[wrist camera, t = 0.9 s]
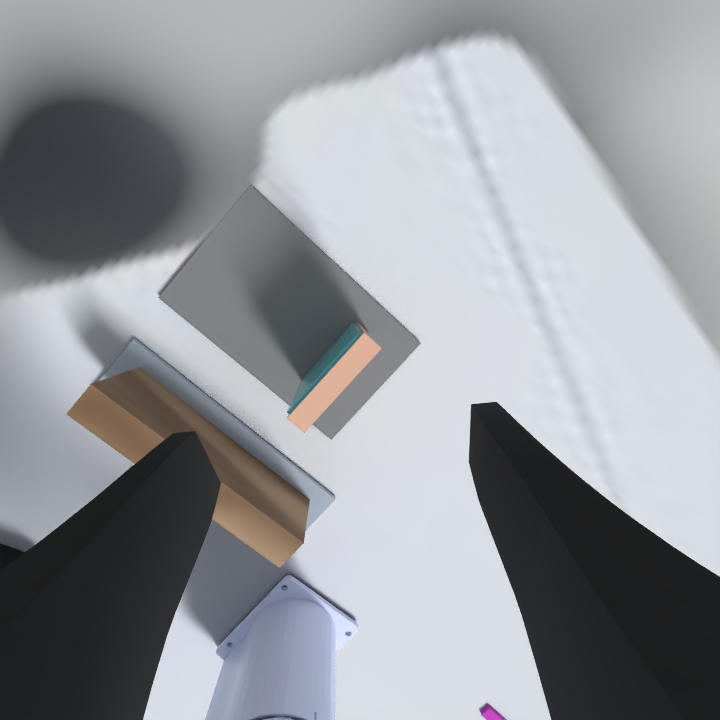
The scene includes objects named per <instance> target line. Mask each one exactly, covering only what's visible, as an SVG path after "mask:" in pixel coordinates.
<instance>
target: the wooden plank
mask: <svg viewBox="0 0 720 720" xmlns="http://www.w3.org/2000/svg"><path fill="white" fill-rule="evenodd" d="M67 415H68V416H70V417H71V418H72V419H74V420H75V421H77V422H78V423H79V424H81V425H82V426H83V427H85V428H86V429H88V430H89V431H90V432H92V433H93V434H95V435H96V436H97V437H99V438H100V439H101V440H103V441H104V442H106V443H107V444H108V445H110V446H111V447H113V448H114V449H115V450H117V451H118V452H119V453H121V454H122V455H124V456H125V457H126V458H128V459H129V460H130V461H132V462H133V463H135V464H136V463H137V462H138V461H139V460H140V459H142V458H143V457H144V456H145V455H146V454H148V453H149V452H150V451H151V450H152V449H154V448H155V447H156V446H157V445H159V444H160V443H161V442H162V441H164V440H165V439H166V438H168V437H169V436H170V435H172V434H173V433H180V432H190V431H195V432H196V434H197V436H198V438H199V440H200V442H201V444H202V446H203V448H204V450H205V452H206V454H207V456H208V458H209V460H210V462H211V464H212V466H213V468H214V470H215V472H216V474H217V476H218V478H219V480H220V482H221V485H220V490H219V494H218V498H217V502H216V506H215V510H214V514H213V517H212V520H213V521H215V522H216V523H218V524H219V525H220V526H222V527H223V528H225V529H226V530H227V531H229V532H230V533H231V534H233V535H234V536H236V537H237V538H238V539H240V540H241V541H243V542H244V543H245V544H247V545H248V546H249V547H251V548H252V549H254V550H255V551H256V552H258V553H259V554H261V555H262V556H263V557H265V558H266V559H267V560H269V561H270V562H272V563H273V564H274V565H276V566H277V567H278V568H280V567H281V566H282V565H283V564H284V563H285V562H286V561H287V560H288V559H289V558H290V557H291V556H292V555H293V554H294V553H295V551H296V550H297V549H298V548H299V547H300V546H301V545H302V544H303V543H304V537H305V530H306V523H307V516H308V509H309V503H310V499H309V498H307V497H306V496H305V495H303V494H302V493H301V492H300V491H298V490H297V489H296V488H294V487H293V486H292V485H291V484H289V483H288V482H287V481H285V480H284V479H283V478H281V477H280V476H279V475H278V474H276V473H275V472H274V471H272V470H271V469H270V468H269V467H267V466H266V465H265V464H263V463H262V462H261V461H260V460H258V459H257V458H256V457H254V456H253V455H252V454H251V453H249V452H248V451H247V450H245V449H244V448H243V447H242V446H240V445H239V444H238V443H236V442H235V441H234V440H233V439H231V438H230V437H229V436H227V435H226V434H225V433H224V432H222V431H221V430H220V429H218V428H217V427H216V426H215V425H213V424H212V423H211V422H209V421H208V420H207V419H206V418H204V417H203V416H202V415H200V414H199V413H198V412H196V411H195V410H194V409H193V408H191V407H190V406H189V405H187V404H186V403H185V402H184V401H182V400H181V399H180V398H178V397H177V396H176V395H175V394H173V393H172V392H171V391H169V390H168V389H167V388H166V387H164V386H163V385H162V384H160V383H159V382H158V381H157V380H155V379H154V378H153V377H151V376H150V375H149V374H148V373H146V372H145V371H144V370H142V369H141V368H140V367H138V368H135V369H132V370H130V371H127V372H124V373H121V374H118V375H115V376H113V377H110V378H107V379H104V380H101V381H98V382H95V383H93V384H91V385H90V386H89V387H88V388H87V390H86V391H85V392H84V393H83V394H82V396H81V397H80V398H79V399H78V401H77V402H76V403H75V404H74V405H73V407H72V408H71V409H70V410H69V411H68V413H67Z"/></svg>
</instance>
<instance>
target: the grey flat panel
mask: <svg viewBox="0 0 720 720" xmlns="http://www.w3.org/2000/svg"><path fill="white" fill-rule="evenodd" d="M138 367H140V368H141V369H142V370H144V371H145V372H146V373H148V374H149V375H150V376H151V377H153V378H154V379H155V380H157V381H158V382H159V383H160V384H162V385H163V386H164V387H166V388H167V389H168V390H169V391H171V392H172V393H173V394H175V395H176V396H177V397H178V398H180V399H181V400H182V401H184V402H185V403H186V404H187V405H189V406H190V407H191V408H193V409H194V410H195V411H196V412H198V413H199V414H200V415H202V416H203V417H204V418H206V419H207V420H208V421H209V422H211V423H212V424H213V425H215V426H216V427H217V428H218V429H220V430H221V431H222V432H224V433H225V434H226V435H227V436H229V437H230V438H231V439H233V440H234V441H235V442H236V443H238V444H239V445H240V446H242V447H243V448H244V449H245V450H247V451H248V452H249V453H251V454H252V455H253V456H254V457H256V458H257V459H258V460H260V461H261V462H262V463H263V464H265V465H266V466H267V467H269V468H270V469H271V470H272V471H274V472H275V473H276V474H278V475H279V476H280V477H281V478H283V479H284V480H285V481H287V482H288V483H289V484H291V485H292V486H293V487H294V488H296V489H297V490H298V491H300V492H301V493H302V494H303V495H305V496H306V497H307V498H309V499H310V503H309V509H308V516H307V523H306V530H307V529H308V527H309V526H310V525H311V524H312V523H313V522H314V521H315V520H316V519H317V518H318V517H319V516H320V515H321V514H322V513H323V512H324V511H325V510H326V509H327V507H328V506H329V505H330V504H331V503H332V502H333V501H334V500H335V496H334V495H333V494H332V493H330V492H329V491H328V490H326V489H325V488H324V487H323V486H321V485H320V484H319V483H318V482H316V481H315V480H314V479H313V478H311V477H310V476H309V475H307V474H306V473H305V472H304V471H302V470H301V469H300V468H299V467H297V466H296V465H295V464H294V463H292V462H291V461H290V460H288V459H287V458H286V457H285V456H283V455H282V454H281V453H280V452H278V451H277V450H276V449H275V448H273V447H272V446H271V445H269V444H268V443H267V442H266V441H264V440H263V439H262V438H261V437H259V436H258V435H257V434H256V433H254V432H253V431H252V430H250V429H249V428H248V427H247V426H245V425H244V424H243V423H242V422H240V421H239V420H238V419H237V418H235V417H234V416H233V415H232V414H230V413H229V412H228V411H226V410H225V409H224V408H223V407H221V406H220V405H219V404H218V403H216V402H215V401H214V400H213V399H211V398H210V397H209V396H207V395H206V394H205V393H204V392H202V391H201V390H200V389H199V388H197V387H196V386H195V385H194V384H192V383H191V382H190V381H188V380H187V379H186V378H185V377H183V376H182V375H181V374H180V373H178V372H177V371H176V370H175V369H173V368H172V367H171V366H169V365H168V364H167V363H166V362H164V361H163V360H162V359H161V358H159V357H158V356H157V355H156V354H154V353H153V352H152V351H150V350H149V349H148V348H147V347H145V346H144V345H143V344H142V343H140V342H139V341H138V340H137V339H133V340H132V341H131V342H130V344H129V345H128V346H127V347H126V348H125V350H124V351H123V352H122V353H121V354H120V356H119V357H118V358H117V359H116V361H115V362H114V363H113V364H112V365H111V367H110V368H109V369H108V370H107V371H106V373H105V374H104V375H103V376H102V378H101V379H100V380H99V381H101V380H104V379H107V378H110V377H113V376H115V375H118V374H121V373H124V372H127V371H130V370H132V369H135V368H138ZM306 530H305V531H306Z"/></svg>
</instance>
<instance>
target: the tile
mask: <svg viewBox="0 0 720 720" xmlns="http://www.w3.org/2000/svg"><path fill="white" fill-rule="evenodd" d="M381 349H382V348H381V347H380V346H379V345H378V343H377V342H376V341H375V340H374V338H373V337H372V336H371V335H370V333H369V332H368V331H367V330H365V329H364V328H363V327H362V326H361V325H360V324H359V323H358V322H356V323H352V324H351V325H350V326H349V327H348V328H347V329H346V330H345V332H344V333H343V334H342V335H341V336H340V337H339V338H338V339H337V340H336V342H335V343H334V344H333V345H332V346H331V347H330V348H329V349H328V351H327V352H326V353H325V354H324V355H323V356H322V357H321V358H320V359H319V361H318V362H317V363H316V364H315V365H314V366H313V367H312V368H311V369H310V371H309V372H308V373H307V374H306V375H305V376H304V377H303V378H302V380H301V382H300V384H299V387H298V389H297V391H296V393H295V395H294V397H293V400H292V402H291V404H290V406H289V408H288V411H287V413H289V414H288V417H287V419H288V420H289V421H290V422H292V423H293V424H294V425H295V426H297V427H298V428H299V429H300V430H302V431H303V432H304V433H305V432H306V431H307V429H308V428H309V427H310V426H311V425H312V424H313V423H314V422H315V421H316V420H317V419H318V417H319V416H320V415H321V414H322V413H323V412H324V411H325V410H326V409H327V408H328V406H329V405H330V404H331V403H332V402H333V401H334V400H335V399H336V398H337V397H338V396H339V394H340V393H341V392H342V391H343V390H344V389H345V388H346V387H347V386H348V385H349V384H350V382H351V381H352V380H353V379H354V378H355V377H356V376H357V375H358V374H359V373H360V372H361V370H362V369H363V368H364V367H365V366H366V365H367V364H368V363H369V362H370V361H371V360H372V358H373V357H374V356H375V355H376V354H377V353H378V352H379V351H380V350H381Z"/></svg>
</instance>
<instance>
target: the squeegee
mask: <svg viewBox="0 0 720 720" xmlns="http://www.w3.org/2000/svg"><path fill="white" fill-rule="evenodd" d="M480 712H481V715H482V716H483V717H484V718H485V719H486V720H506V719H504V718H503V717H502V716H501V715H500V714H499V713H498V712H496V711H495V710H494V709H493V708H492V707H491V706H490V705H487V706H486V707H485V708H484V709H482V710H481V711H480Z"/></svg>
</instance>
